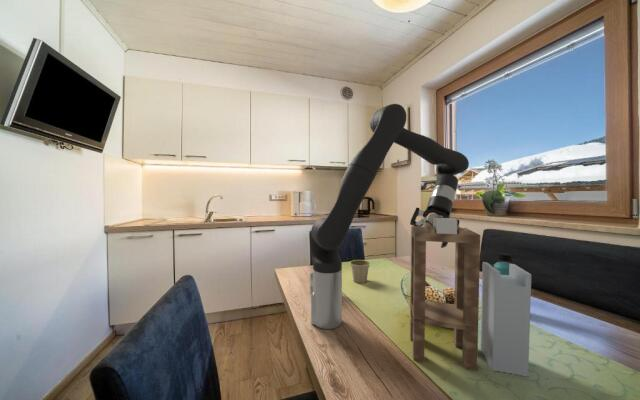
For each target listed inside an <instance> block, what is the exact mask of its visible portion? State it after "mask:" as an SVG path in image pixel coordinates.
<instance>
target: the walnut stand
mask: <svg viewBox="0 0 640 400" xmlns="http://www.w3.org/2000/svg"><path fill="white" fill-rule="evenodd" d="M427 242H433V243H434V242H435V243H442V242H448V243H455V246H454V247H455V250H454V253H455V254H454V255H455V256H454V258H455V259H454V302H453V303H447V302H444V303H443V302H437V301H436V302H434V301H429V300H428V301H427V300H426V278H427V277H426V274H427V273H426V272H427V271H426V269H427V268H426V266H427V264H426V263H427V260H426V259H427ZM480 261H481V235H480V234H479V233H477V232H475V231H473V230H471V229H469V228H467V227H460V225H459V226H457V234H440V233H436V232H435V228H434V227H433V226H431V225H430V224H429V223H428V222H424V226H413V225H411V227H410V291H409V292H410V294H409V295H410V301H409V302H410V309H409V317H410V318H409V337H410V341H412V358H413V361H415V362H416V361H417V362H422V363H425V348H426V347H425V345H426V344H425V341H426V339H425V337H426V332H425V331H426V326H432V327H439V328H447V329H448V328H449V329H453V344H454V343H455V344H454V346H455V347H456V348H460V349H462V351H461V352H462V359H461V361H462V362H461V363H462V365H463V364H464V365H463V368H464V369H465V368H466V369H465V370H469V369H472V370H471V371H474V370H476V372H477V371H478V357H479V355H478V352H479V351H478V350H479V349H478V348H479V347H478V346H479V345H478V344H479V312H480V310H479V309H480V308H479V305H480V302H479V301H480V272H481V271H480V266H481V265H480V264H481V263H480Z"/></svg>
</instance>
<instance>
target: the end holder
mask: <svg viewBox="0 0 640 400" xmlns="http://www.w3.org/2000/svg"><path fill="white" fill-rule="evenodd" d="M481 270H482V273H481V274H482V276H481V279H482V280H481V281H482V282H481V311H480V312H481V319H480V321H481V322H480V351H481V353H482V355H483V357H484V356H485V357H484V359H485V360H486V362H487V363H488V366H489V367H490V369H491V370H492V372H497V371H500V372H499V373H503V372H506V373H505V374H509V373H512V374H511V375H515V374H518V375H517V376H521V375H522V376H521V377H527V378H528V377H529V361H530V360H529V357H530V335H531V334H530V331H531V330H530V328H531V327H530V326H531V303H532V302H531V300H532V299H531V297H532V274H531V273H530V272H528V271H526V270H524V269H523V268H521V267H519V266H518V265H517V264H514V263H511V264H509V275H500V272H499V271H498V270H497V269H495V268H494V265H492V264H490V263H488V262H487V261H486V262H485V261H483V262H482V269H481Z"/></svg>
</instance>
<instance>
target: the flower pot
mask: <svg viewBox="0 0 640 400" xmlns="http://www.w3.org/2000/svg"><path fill="white" fill-rule="evenodd" d="M349 264H350V267H351V273H352V280H353V281H352V282H354V283H357V284H365V283H367V281H368V274H369V268H370V266H371V262H370V261H368V260H364V259H353V260H351V261H349Z"/></svg>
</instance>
